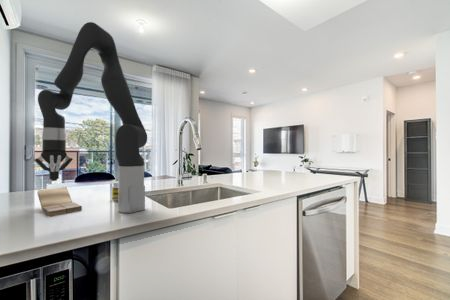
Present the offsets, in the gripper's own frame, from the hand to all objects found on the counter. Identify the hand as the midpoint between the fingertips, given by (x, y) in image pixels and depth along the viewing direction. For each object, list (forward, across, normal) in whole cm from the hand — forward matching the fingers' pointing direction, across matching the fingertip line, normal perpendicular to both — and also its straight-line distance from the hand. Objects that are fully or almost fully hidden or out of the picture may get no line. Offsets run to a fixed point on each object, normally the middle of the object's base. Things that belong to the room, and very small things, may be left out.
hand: (54, 180), depth 87 cm
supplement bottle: (+11, +22, -9) cm, 26 cm away
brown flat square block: (+11, 0, -11) cm, 15 cm away
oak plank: (+8, 0, -1) cm, 8 cm away
